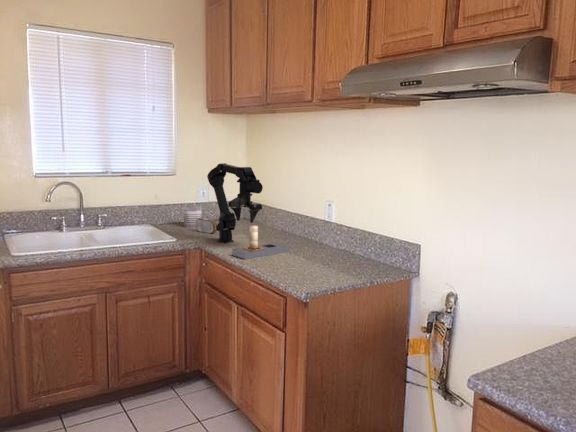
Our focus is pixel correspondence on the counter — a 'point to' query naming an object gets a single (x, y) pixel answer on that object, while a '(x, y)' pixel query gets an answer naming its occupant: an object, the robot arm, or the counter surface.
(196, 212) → the can
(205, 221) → the tin
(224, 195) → the robot arm
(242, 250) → the silver slotted plate
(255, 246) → the peg
